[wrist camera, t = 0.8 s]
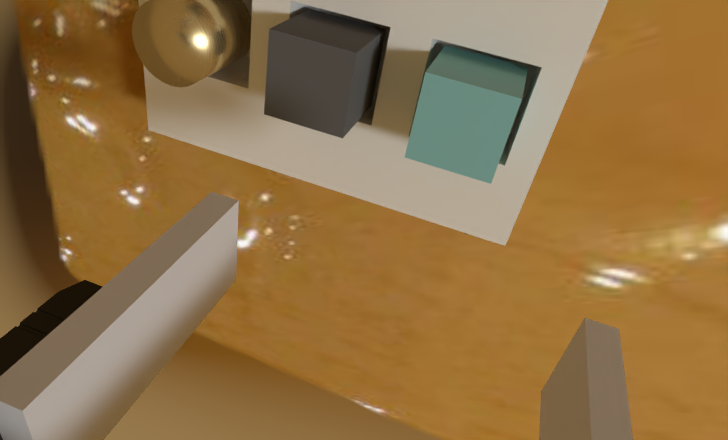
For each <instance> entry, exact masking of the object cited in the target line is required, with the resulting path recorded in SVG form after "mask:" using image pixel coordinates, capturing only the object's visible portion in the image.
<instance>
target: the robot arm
mask: <svg viewBox="0 0 728 440" xmlns="http://www.w3.org/2000/svg"><path fill="white" fill-rule="evenodd" d="M238 204H239V201H238V200H235V199H232V198H229V197H226V196H223V195H220V194H217V193H214V192H211V193H210V194H209V195H208V196H206V197H205V198H204V199H203V200H202V201H201V202H200V203H198V204H197V205H196V206H195V207H194V208H193V209H192V210H190V211H189V212H188V213H187V214H186V215H185V216H184V217H182V218H181V219H180V220H179V221H178V222H177V223H176V224H174V225H173V226H172V227H171V228H170V229H169V230H167V231H166V232H165V233H164V234H163V235H162V236H161V237H159V238H158V239H157V240H156V241H155V242H154V243H153V244H151V245H150V246H149V247H148V248H147V249H146V250H145V251H143V252H142V253H141V254H140V255H139V256H138V257H137V258H135V259H134V260H133V261H132V262H131V263H130V264H129V265H127V266H126V267H125V268H124V269H123V270H122V271H121V272H119V273H118V274H117V275H116V276H115V277H114V278H112V279H111V280H110V281H109V282H108V283H107V284H106V285H104V286H103V287H102V286H99V285H97V284H94V283H92V282H89V281H86V280H84V281H82V282H79V283H77V284H75V285H73V286H70V287H68V288H66V289H63V290H61V291H59V292H58V293H56V294H55V295H54V296H53V297H51V298H50V299H49V300H48V301H46V302H45V303H44V304H43V305H41V306H40V307H39V308H38V309H37V311H36V312H33V313H32V314H30V315H29V316H28V317H27V318H25V319H24V320H23V321H22V322H20V325H19V326H18V327H16V326H15V327H14V328H13V329H12V330H10V331H9V332H8V333H7V334H6V335H5V336H3V337H2V338H0V440H104V439H105V437H106V436H107V435H108V434H109V433H110V431H111V430H112V429H113V428H114V426H115V425H116V424H117V423H118V422H119V421H120V419H121V418H122V417H123V416H124V414H125V413H126V412H127V411H128V410H129V409H130V407H131V406H132V405H133V404H134V402H135V401H136V400H137V399H138V398H139V396H140V395H141V394H142V393H143V392H144V390H145V389H146V388H147V387H148V386H149V384H150V383H151V382H152V381H153V380H154V378H155V377H156V375H158V373H159V372H160V371H161V370H162V369H163V367H164V366H165V365H166V364H167V363H168V361H169V360H170V359H171V358H172V357H173V355H174V354H175V353H176V352H177V351H178V349H179V348H180V347H181V346H182V345H183V343H184V342H185V341H186V340H187V339H188V337H189V336H190V335H191V334H192V332H193V331H194V330H195V329H196V328H197V326H198V325H199V324H200V323H201V322H202V320H203V319H204V318H205V317H206V316H207V314H208V313H209V312H210V311H211V310H212V308H213V307H214V306H215V305H216V304H217V302H218V301H219V300H220V299H221V297H222V296H223V295H224V294H225V293H226V291H227V290H228V289H229V288H230V287H231V285H232V284H233V283H234V282H235V281H236V264H237V234H238ZM539 440H633V436H632V428H631V420H630V412H629V404H628V396H627V388H626V380H625V372H624V365H623V357H622V349H621V341H620V333H619V329H617V328H614V327H611V326H608V325H605V324H602V323H599V322H596V321H593V320H590V319H587V318H585V319H584V320H583V322H582V324H581V325H580V327H579V329H578V330H577V332H576V334H575V335H574V337H573V339H572V340H571V342H570V344H569V345H568V347H567V349H566V351H565V352H564V354H563V356H562V357H561V359H560V361H559V362H558V364H557V366H556V367H555V369H554V371H553V372H552V374H551V376H550V377H549V379H548V381H547V383H546V384H545V386H544V388H543V389H542V391H541V408H540V432H539Z"/></svg>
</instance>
